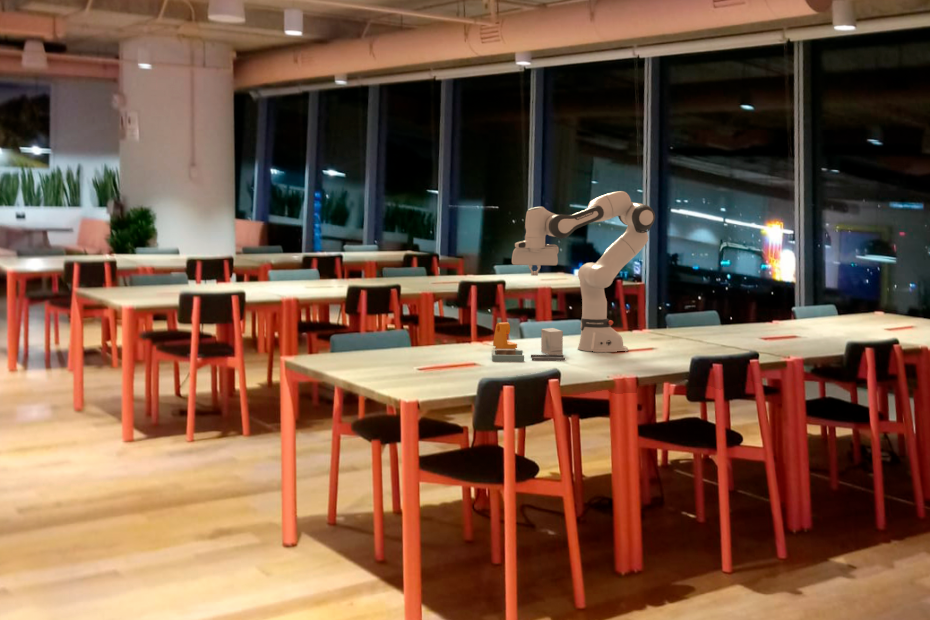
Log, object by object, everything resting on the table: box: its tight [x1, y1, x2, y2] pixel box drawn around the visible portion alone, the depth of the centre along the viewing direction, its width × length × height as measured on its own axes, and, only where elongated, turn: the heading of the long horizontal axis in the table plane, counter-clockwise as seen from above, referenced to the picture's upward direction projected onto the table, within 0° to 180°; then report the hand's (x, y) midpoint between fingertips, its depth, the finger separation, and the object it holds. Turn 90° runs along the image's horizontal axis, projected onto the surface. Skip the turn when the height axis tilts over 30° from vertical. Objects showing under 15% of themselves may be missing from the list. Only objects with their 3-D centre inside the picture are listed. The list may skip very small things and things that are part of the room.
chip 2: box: [506, 348, 516, 355], centre depth 435 cm, size 4×4×4 cm
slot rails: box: [530, 354, 566, 362], centre depth 435 cm, size 14×8×1 cm, turn 90°
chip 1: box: [495, 348, 506, 355], centre depth 435 cm, size 4×4×4 cm
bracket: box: [492, 321, 518, 350], centre depth 463 cm, size 11×7×12 cm, turn 24°
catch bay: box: [491, 349, 525, 362], centre depth 435 cm, size 13×14×2 cm
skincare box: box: [540, 327, 564, 355], centre depth 452 cm, size 10×6×10 cm, turn 18°
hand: (534, 275), depth 450 cm, fingers closed
